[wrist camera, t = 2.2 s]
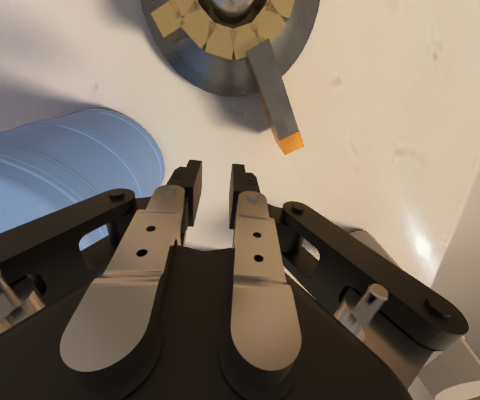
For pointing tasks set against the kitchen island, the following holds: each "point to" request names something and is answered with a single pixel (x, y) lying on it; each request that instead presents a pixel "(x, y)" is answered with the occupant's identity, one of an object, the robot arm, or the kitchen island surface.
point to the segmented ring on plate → (241, 54)
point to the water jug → (74, 165)
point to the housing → (232, 73)
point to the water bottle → (442, 356)
